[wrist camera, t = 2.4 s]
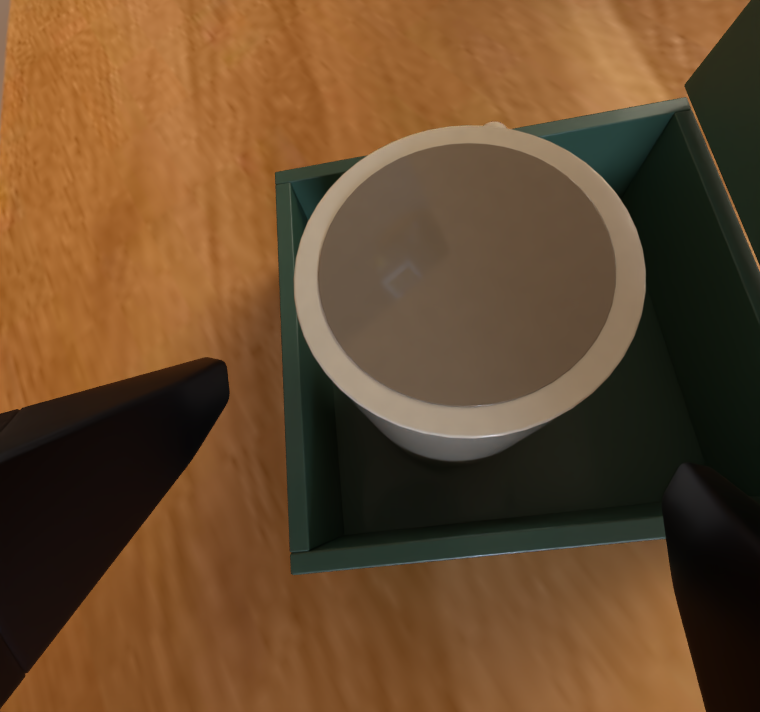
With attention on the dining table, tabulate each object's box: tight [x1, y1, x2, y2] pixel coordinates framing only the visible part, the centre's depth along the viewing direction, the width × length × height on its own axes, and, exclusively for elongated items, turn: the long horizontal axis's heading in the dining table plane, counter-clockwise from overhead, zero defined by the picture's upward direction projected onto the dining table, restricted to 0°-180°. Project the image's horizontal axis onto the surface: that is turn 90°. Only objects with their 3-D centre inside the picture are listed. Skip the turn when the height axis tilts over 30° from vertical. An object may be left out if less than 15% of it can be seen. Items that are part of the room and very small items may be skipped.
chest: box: [275, 97, 760, 575], centre depth 17 cm, size 15×14×6 cm
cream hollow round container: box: [294, 121, 646, 468], centre depth 14 cm, size 9×7×11 cm
